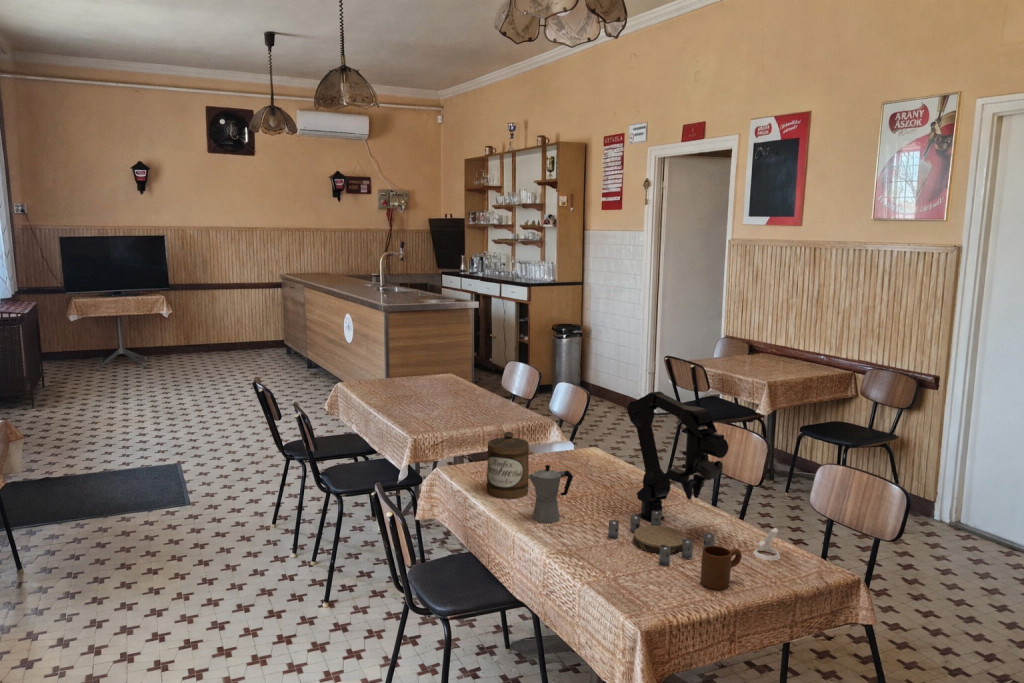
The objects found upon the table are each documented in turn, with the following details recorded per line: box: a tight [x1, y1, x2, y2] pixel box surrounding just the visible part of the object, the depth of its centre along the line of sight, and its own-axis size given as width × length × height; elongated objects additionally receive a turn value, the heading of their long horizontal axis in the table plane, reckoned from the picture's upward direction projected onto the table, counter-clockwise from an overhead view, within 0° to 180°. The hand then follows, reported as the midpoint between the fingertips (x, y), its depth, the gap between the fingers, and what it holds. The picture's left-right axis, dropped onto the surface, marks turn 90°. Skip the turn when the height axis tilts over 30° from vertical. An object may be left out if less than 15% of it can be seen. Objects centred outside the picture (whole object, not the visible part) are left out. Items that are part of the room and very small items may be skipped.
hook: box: [752, 527, 781, 561], centre depth 220 cm, size 8×12×7 cm
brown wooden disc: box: [632, 525, 688, 555], centre depth 229 cm, size 16×16×3 cm
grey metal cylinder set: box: [607, 509, 715, 567], centre depth 229 cm, size 25×21×5 cm
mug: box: [700, 545, 743, 591], centre depth 204 cm, size 12×8×9 cm, turn 114°
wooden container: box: [486, 431, 530, 499], centre depth 271 cm, size 15×15×22 cm
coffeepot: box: [528, 464, 574, 524], centre depth 247 cm, size 15×9×18 cm, turn 107°
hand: (692, 498), depth 235 cm, fingers open, 3 cm apart
